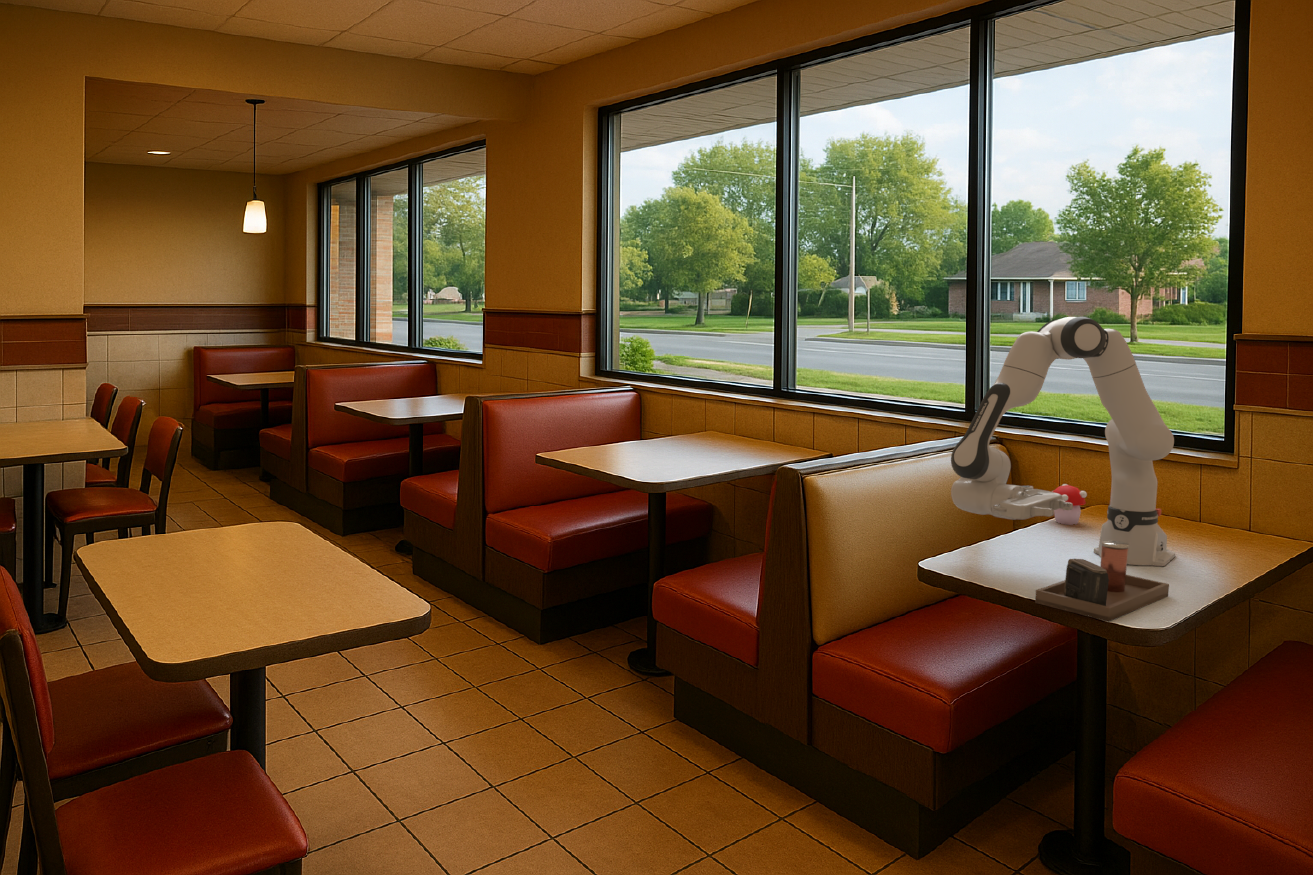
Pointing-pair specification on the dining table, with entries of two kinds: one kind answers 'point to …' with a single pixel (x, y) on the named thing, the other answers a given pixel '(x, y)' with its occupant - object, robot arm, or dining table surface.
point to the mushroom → (1073, 497)
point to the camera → (1086, 581)
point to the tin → (1115, 564)
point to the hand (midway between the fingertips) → (1062, 509)
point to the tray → (1117, 603)
